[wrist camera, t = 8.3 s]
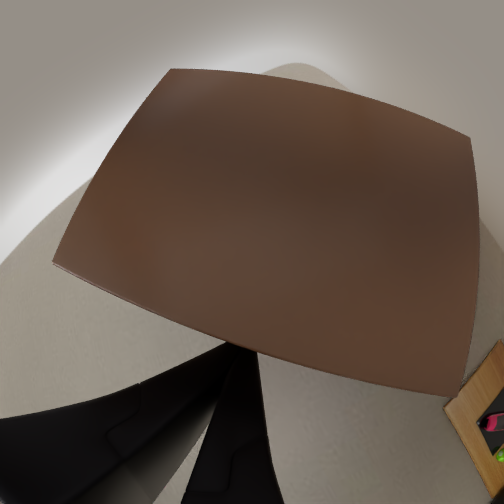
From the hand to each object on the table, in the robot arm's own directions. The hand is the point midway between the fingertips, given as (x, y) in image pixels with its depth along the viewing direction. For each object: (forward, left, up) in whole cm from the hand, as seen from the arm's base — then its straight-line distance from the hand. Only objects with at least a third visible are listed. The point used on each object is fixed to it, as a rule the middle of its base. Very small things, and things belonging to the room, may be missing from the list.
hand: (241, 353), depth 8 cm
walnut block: (+4, +2, -7) cm, 8 cm away
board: (+9, -16, -7) cm, 20 cm away
